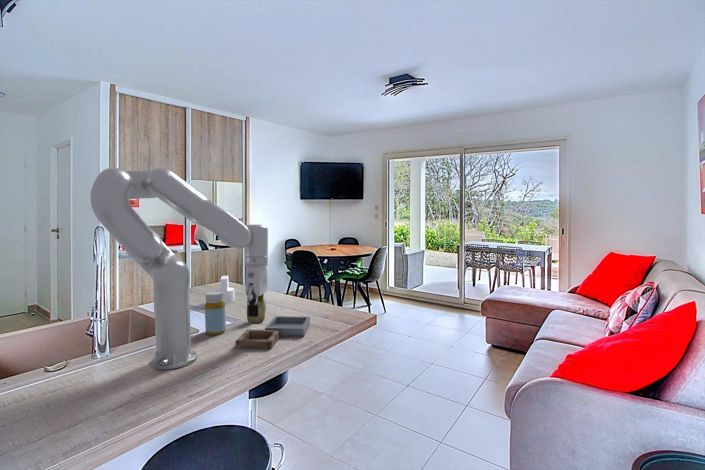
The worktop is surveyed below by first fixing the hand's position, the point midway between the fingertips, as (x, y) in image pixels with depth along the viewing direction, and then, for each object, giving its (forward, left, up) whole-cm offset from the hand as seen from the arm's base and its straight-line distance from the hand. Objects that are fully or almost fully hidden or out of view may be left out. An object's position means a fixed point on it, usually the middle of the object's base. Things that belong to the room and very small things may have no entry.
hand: (255, 313), depth 124 cm
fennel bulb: (0, 0, -4) cm, 4 cm away
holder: (0, -1, -10) cm, 10 cm away
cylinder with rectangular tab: (+52, +32, -10) cm, 63 cm away
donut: (+24, +7, -10) cm, 28 cm away
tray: (+13, -8, -10) cm, 19 cm away
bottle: (+9, +18, -10) cm, 23 cm away
